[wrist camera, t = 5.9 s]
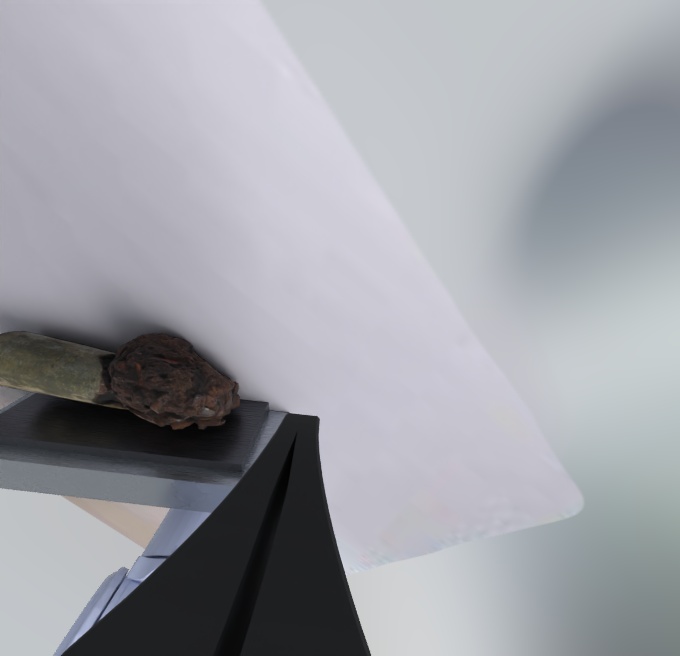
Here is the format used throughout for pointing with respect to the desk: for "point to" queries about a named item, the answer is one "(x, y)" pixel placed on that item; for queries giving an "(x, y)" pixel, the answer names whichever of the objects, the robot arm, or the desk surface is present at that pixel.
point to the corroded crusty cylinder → (122, 377)
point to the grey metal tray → (128, 452)
